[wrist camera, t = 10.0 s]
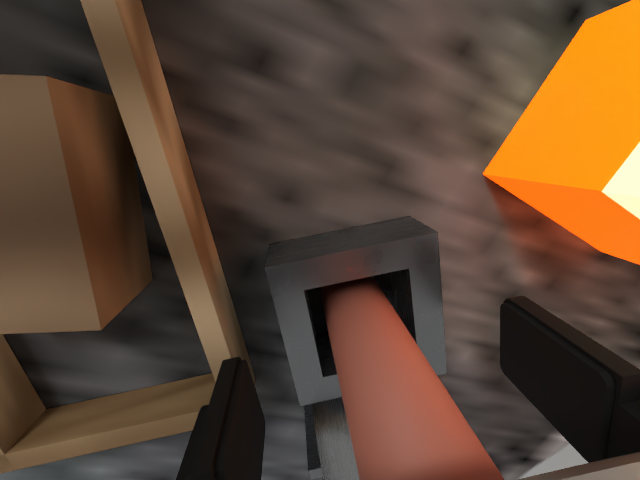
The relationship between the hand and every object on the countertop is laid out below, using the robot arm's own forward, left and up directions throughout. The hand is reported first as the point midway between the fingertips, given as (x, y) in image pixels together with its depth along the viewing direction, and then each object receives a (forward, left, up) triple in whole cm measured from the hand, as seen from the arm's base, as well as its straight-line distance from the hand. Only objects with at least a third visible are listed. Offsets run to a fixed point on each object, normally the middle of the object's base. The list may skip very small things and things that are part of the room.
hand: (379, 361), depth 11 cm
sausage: (0, 0, -5) cm, 5 cm away
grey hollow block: (+3, 0, -5) cm, 6 cm away
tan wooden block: (-8, -12, -6) cm, 15 cm away
